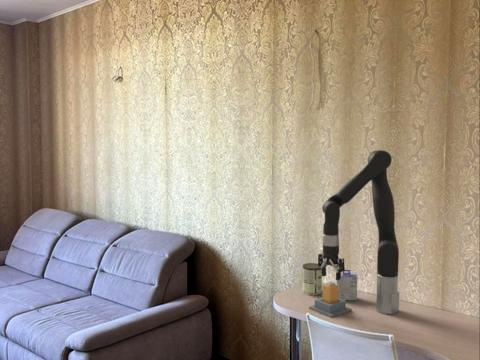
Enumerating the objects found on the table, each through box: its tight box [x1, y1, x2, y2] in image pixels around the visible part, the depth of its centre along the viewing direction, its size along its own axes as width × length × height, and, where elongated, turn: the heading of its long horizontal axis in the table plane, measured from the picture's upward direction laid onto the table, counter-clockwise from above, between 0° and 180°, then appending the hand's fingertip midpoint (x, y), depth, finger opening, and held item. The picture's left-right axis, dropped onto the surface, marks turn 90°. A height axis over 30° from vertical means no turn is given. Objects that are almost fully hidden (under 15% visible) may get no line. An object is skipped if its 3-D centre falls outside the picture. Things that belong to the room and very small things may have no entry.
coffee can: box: [302, 262, 323, 296], centre depth 241 cm, size 10×10×14 cm
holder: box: [308, 297, 352, 318], centre depth 216 cm, size 14×14×4 cm
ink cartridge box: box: [336, 269, 358, 301], centre depth 231 cm, size 10×6×14 cm, turn 89°
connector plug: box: [321, 281, 338, 304], centre depth 216 cm, size 4×6×12 cm
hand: (330, 277), depth 215 cm, fingers open, 8 cm apart
